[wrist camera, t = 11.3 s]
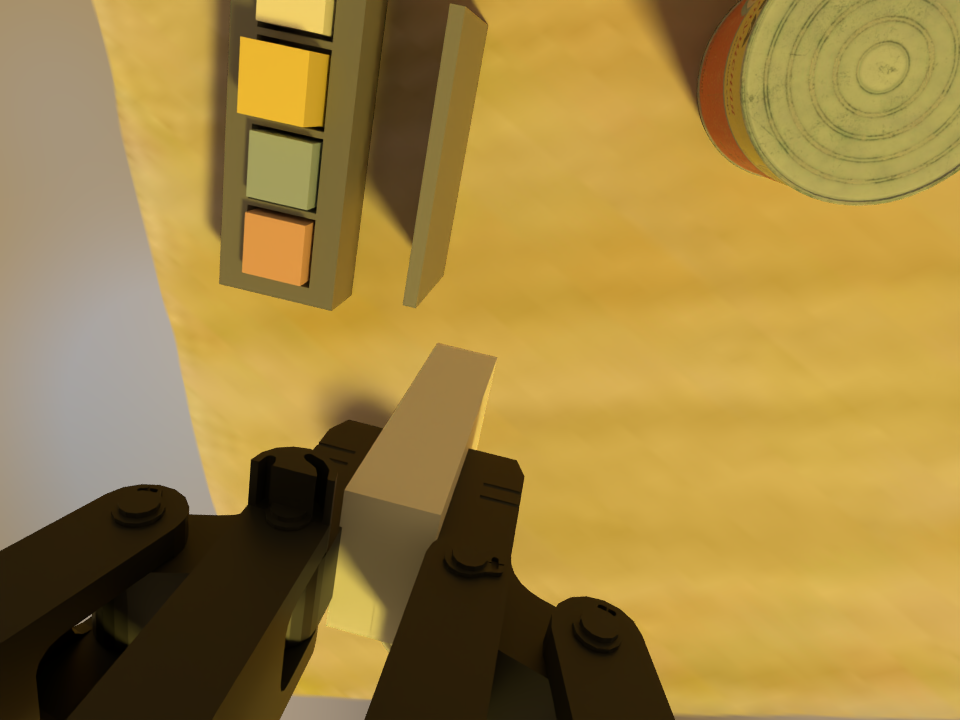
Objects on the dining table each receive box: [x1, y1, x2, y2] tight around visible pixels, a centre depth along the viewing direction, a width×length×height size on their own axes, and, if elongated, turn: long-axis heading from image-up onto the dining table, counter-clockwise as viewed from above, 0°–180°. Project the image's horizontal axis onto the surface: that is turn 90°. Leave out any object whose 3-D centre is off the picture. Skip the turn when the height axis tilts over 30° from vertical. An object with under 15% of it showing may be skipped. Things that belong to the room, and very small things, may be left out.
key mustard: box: [237, 36, 331, 127], centre depth 38 cm, size 4×4×4 cm
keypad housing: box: [219, 0, 388, 311], centre depth 41 cm, size 22×8×4 cm, turn 169°
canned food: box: [697, 0, 960, 206], centre depth 33 cm, size 11×11×12 cm
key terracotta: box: [242, 207, 316, 286], centre depth 43 cm, size 4×4×4 cm
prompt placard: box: [403, 3, 488, 308], centre depth 39 cm, size 16×1×8 cm, turn 169°
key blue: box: [246, 128, 323, 210], centre depth 41 cm, size 4×4×4 cm
